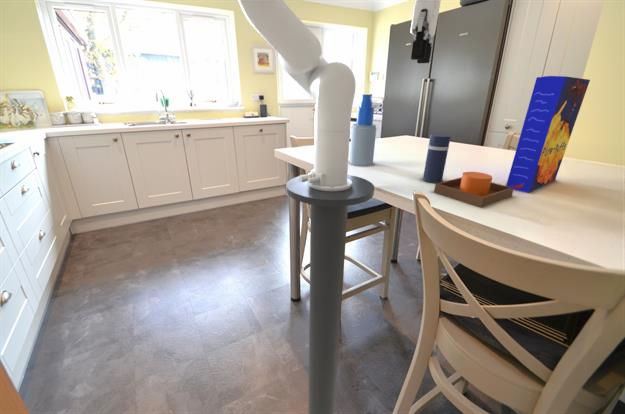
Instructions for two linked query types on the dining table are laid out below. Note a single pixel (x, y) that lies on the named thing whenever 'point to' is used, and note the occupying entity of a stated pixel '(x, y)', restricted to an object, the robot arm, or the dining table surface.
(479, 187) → the cap
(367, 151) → the grey and blue bottle
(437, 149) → the spray can
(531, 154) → the cereal box
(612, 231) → the dining table surface
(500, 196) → the tray
